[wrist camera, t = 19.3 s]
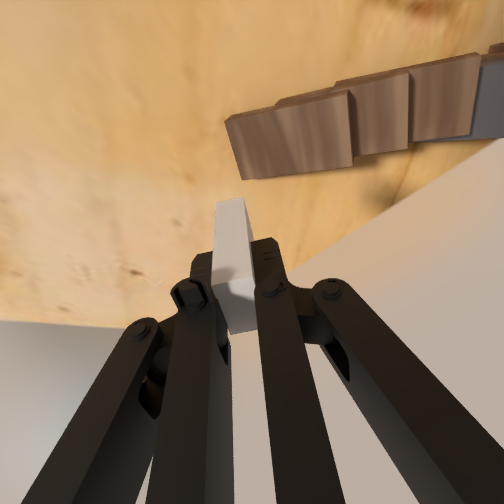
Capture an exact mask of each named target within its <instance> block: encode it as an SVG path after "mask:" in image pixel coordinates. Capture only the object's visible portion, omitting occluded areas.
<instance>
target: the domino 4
mask: <svg viewBox="0 0 504 504" xmlns="http://www.w3.org/2000/svg"><path fill="white" fill-rule="evenodd" d="M492 138H504V60H497V61H489V62H481V63H480V69H479V75H478V81H477V88H476V94H475V100H474V107H473V113H472V119H471V126H470V132H469V135H461V136H453V137H446V138H438V139H430V140H422V141H414V142H433V141H453V140H472V139H492ZM414 142H408V143H414Z"/></svg>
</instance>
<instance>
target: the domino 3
mask: <svg viewBox="0 0 504 504" xmlns="http://www.w3.org/2000/svg"><path fill="white" fill-rule="evenodd" d="M481 56H482V55H480V54H478V53H476V52H474V53H470V54H465V55H460V56H455V57H450V58H446V59H441V60H436V61H431V62H427V63H422V64H417V65H412V66H408V67H403V68H398V69H393V70H389V71H384V72H379V73H374V74H369V75H365V76H360V77H355V78H350V79H346V80H341V81H336V83H335V85H334V86H338V85H342V84H346V83H350V82H354V81H359V80H363V79H367V78H371V77H375V76H380V75H384V74H388V73H392V72H396V71H400V70H405V69H407V71H408V73H409V83H408V142H414V141H422V140H430V139H438V138H446V137H453V136H461V135H469V132H470V126H471V119H472V113H473V107H474V100H475V94H476V88H477V81H478V75H479V69H480V63H481Z"/></svg>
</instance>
